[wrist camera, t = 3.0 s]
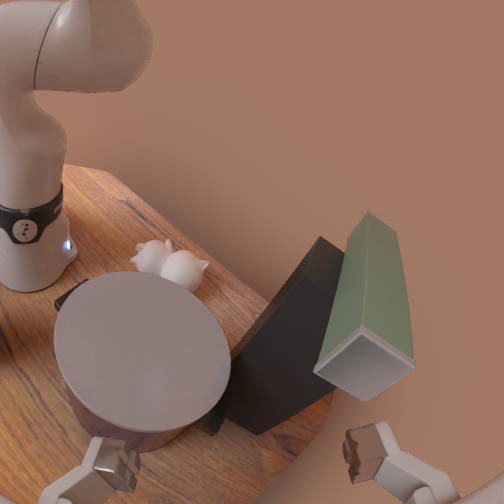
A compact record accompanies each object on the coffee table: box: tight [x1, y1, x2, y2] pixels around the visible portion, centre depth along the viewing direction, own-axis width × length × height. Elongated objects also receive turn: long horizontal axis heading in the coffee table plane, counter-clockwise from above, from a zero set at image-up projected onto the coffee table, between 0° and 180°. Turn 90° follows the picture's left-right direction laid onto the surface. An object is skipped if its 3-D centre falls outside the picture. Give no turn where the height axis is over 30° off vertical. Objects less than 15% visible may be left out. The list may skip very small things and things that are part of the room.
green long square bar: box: [313, 210, 416, 402], centre depth 22 cm, size 20×4×4 cm, turn 156°
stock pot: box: [54, 271, 238, 453], centre depth 28 cm, size 17×20×15 cm
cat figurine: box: [130, 239, 209, 293], centre depth 49 cm, size 9×11×12 cm
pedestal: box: [226, 236, 345, 435], centre depth 32 cm, size 8×10×26 cm
